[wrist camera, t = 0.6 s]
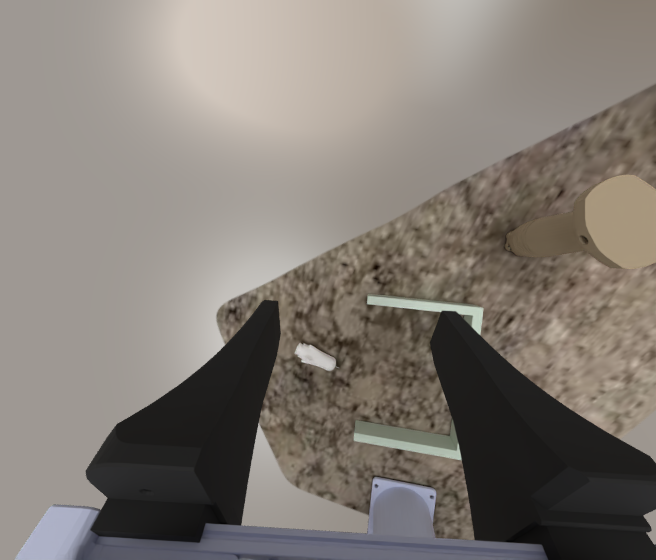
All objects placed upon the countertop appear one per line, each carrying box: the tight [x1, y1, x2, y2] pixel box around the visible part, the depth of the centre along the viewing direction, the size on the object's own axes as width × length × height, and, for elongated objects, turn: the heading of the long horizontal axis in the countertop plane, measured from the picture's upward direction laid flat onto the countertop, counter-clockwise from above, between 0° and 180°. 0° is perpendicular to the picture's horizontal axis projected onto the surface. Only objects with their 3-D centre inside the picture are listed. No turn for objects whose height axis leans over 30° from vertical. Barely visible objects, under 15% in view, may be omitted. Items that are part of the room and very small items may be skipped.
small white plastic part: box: [295, 343, 339, 371], centre depth 37 cm, size 4×6×3 cm, turn 38°
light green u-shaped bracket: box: [354, 294, 483, 460], centre depth 35 cm, size 18×13×3 cm
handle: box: [505, 175, 656, 269], centre depth 27 cm, size 5×6×15 cm
